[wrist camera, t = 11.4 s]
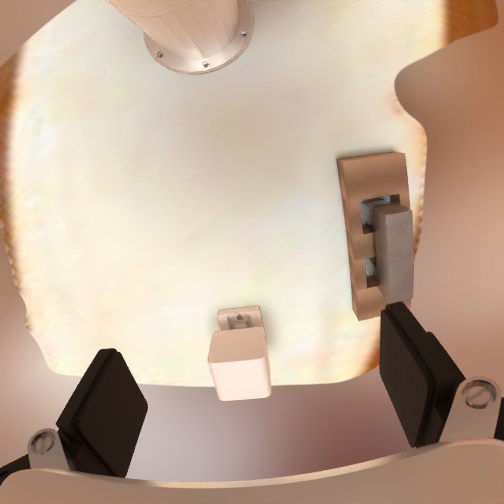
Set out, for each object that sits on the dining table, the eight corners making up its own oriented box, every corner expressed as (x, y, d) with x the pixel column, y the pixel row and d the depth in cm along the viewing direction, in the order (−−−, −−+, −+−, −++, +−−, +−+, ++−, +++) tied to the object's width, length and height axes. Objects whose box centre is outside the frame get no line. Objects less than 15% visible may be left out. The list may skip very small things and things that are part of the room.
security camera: (224, 351, 45) (218, 401, 35) (214, 310, 42) (204, 357, 33) (268, 347, 44) (271, 397, 35) (262, 305, 42) (264, 352, 32)
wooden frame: (336, 159, 35) (343, 161, 32) (394, 151, 35) (405, 153, 32) (352, 309, 42) (358, 321, 39) (402, 297, 41) (410, 308, 39)
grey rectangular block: (360, 198, 37) (385, 215, 29) (383, 195, 37) (412, 210, 29) (367, 274, 40) (389, 303, 33) (388, 269, 40) (412, 297, 32)
